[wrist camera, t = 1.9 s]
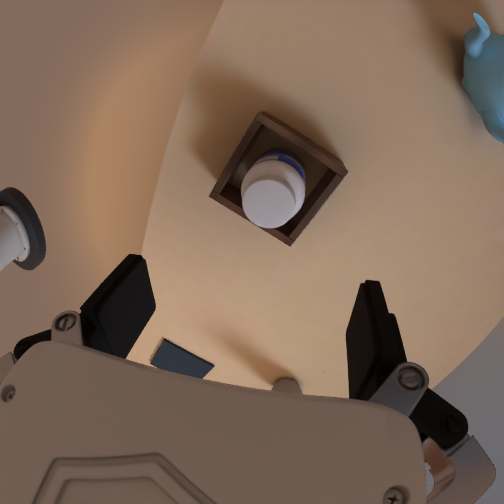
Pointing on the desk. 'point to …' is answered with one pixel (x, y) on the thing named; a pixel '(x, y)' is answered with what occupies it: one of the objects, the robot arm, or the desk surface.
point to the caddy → (313, 203)
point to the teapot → (485, 75)
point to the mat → (180, 361)
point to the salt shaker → (287, 386)
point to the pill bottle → (273, 188)
